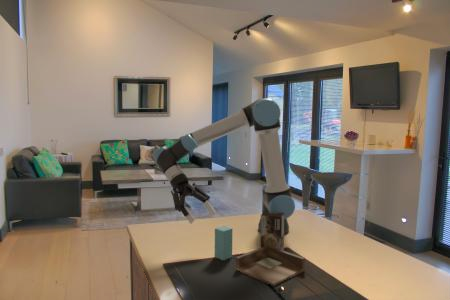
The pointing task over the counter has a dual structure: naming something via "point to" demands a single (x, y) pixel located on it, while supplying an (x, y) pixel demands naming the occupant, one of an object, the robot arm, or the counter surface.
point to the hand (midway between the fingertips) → (203, 218)
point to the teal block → (223, 242)
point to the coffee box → (272, 229)
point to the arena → (270, 264)
